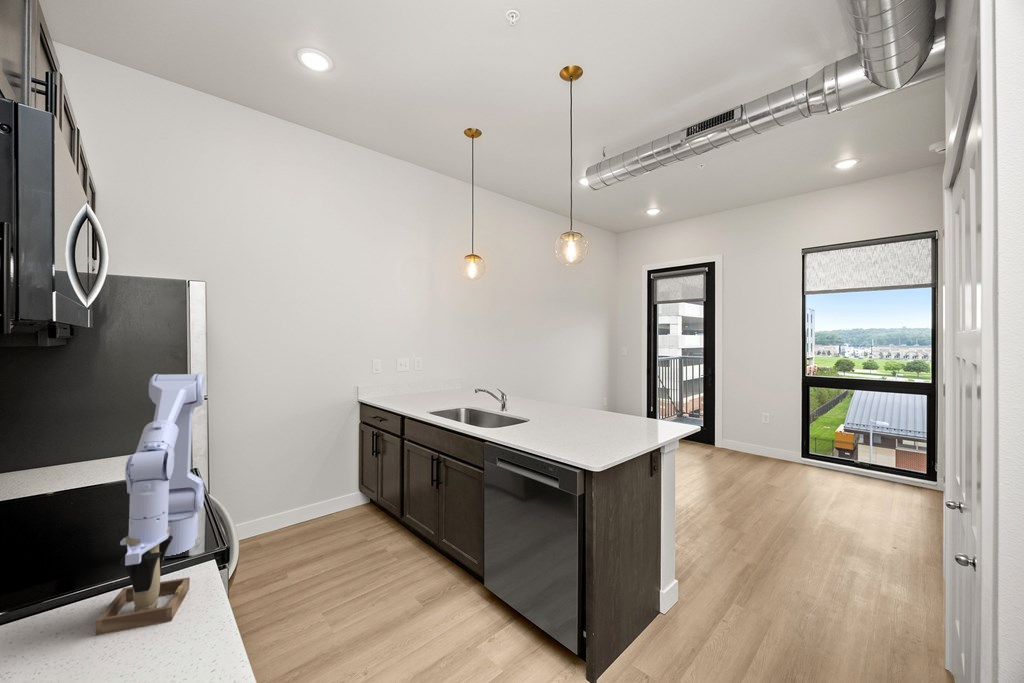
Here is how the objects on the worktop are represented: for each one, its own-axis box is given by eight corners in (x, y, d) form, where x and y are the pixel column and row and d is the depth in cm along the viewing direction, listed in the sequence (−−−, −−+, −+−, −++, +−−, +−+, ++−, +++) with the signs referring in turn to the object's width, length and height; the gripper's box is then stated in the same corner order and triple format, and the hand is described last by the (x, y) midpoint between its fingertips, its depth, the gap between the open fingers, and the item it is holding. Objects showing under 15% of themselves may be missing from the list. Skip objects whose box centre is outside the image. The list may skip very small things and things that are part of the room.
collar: (122, 600, 84) (123, 585, 84) (189, 589, 88) (189, 574, 88) (95, 635, 74) (95, 617, 74) (171, 620, 78) (172, 604, 78)
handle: (118, 616, 79) (120, 536, 79) (159, 598, 85) (161, 523, 85) (131, 624, 77) (133, 542, 77) (172, 605, 83) (174, 528, 83)
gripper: (138, 502, 86) (136, 569, 86) (103, 532, 73) (101, 611, 73) (180, 498, 89) (178, 562, 89) (154, 526, 76) (152, 602, 76)
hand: (147, 584), depth 81 cm, fingers closed on handle, 4 cm apart
